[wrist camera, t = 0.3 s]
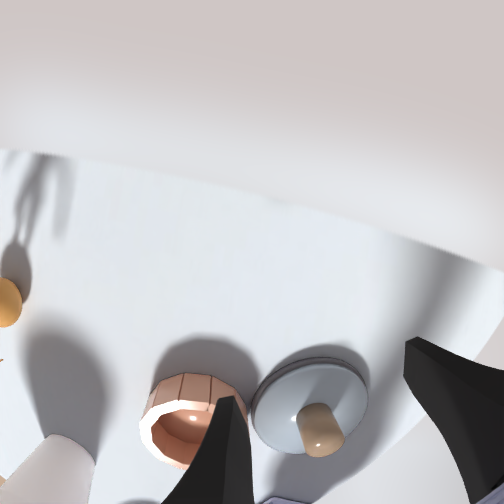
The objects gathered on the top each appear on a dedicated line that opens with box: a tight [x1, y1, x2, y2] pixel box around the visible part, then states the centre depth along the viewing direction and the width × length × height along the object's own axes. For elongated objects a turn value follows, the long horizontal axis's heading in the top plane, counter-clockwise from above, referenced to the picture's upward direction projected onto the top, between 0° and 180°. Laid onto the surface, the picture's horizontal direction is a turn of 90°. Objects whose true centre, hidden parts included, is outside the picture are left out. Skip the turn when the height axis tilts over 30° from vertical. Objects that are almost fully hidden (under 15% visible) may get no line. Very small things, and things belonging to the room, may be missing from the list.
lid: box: [254, 363, 368, 457], centre depth 20 cm, size 10×10×4 cm
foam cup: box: [0, 434, 95, 504], centre depth 16 cm, size 10×9×13 cm
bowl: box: [140, 373, 249, 470], centre depth 20 cm, size 8×8×4 cm
